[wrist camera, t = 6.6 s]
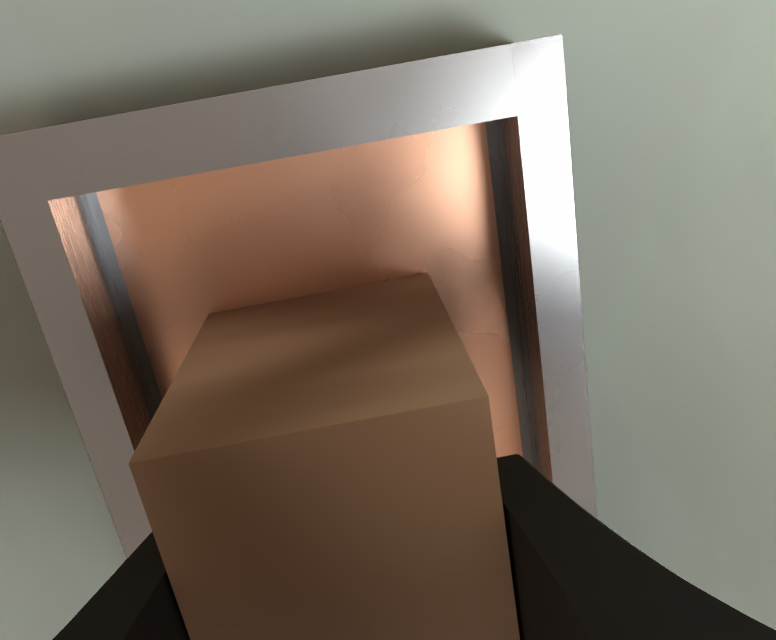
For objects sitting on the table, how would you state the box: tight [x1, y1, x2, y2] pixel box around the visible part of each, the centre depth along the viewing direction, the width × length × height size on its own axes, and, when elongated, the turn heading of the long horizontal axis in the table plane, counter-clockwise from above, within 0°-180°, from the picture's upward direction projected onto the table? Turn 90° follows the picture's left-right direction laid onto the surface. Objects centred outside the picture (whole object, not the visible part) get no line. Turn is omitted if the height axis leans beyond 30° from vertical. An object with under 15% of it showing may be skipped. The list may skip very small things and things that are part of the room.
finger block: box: [128, 273, 520, 640], centre depth 11 cm, size 4×8×5 cm, turn 10°
